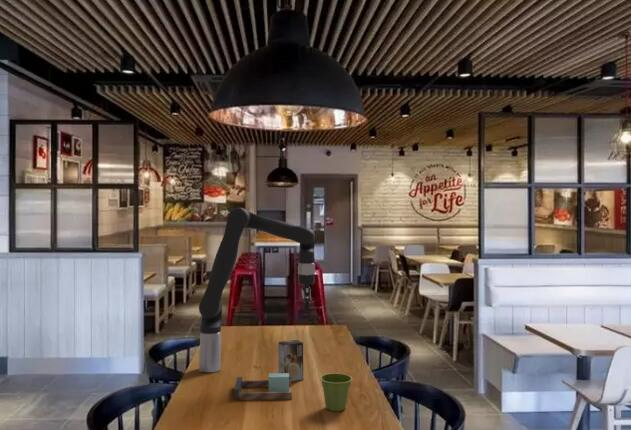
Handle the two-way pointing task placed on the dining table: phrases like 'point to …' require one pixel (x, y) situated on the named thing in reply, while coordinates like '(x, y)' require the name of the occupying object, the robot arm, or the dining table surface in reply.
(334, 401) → the plant pot
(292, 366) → the coffee box
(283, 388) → the block
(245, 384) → the channel
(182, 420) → the dining table surface
